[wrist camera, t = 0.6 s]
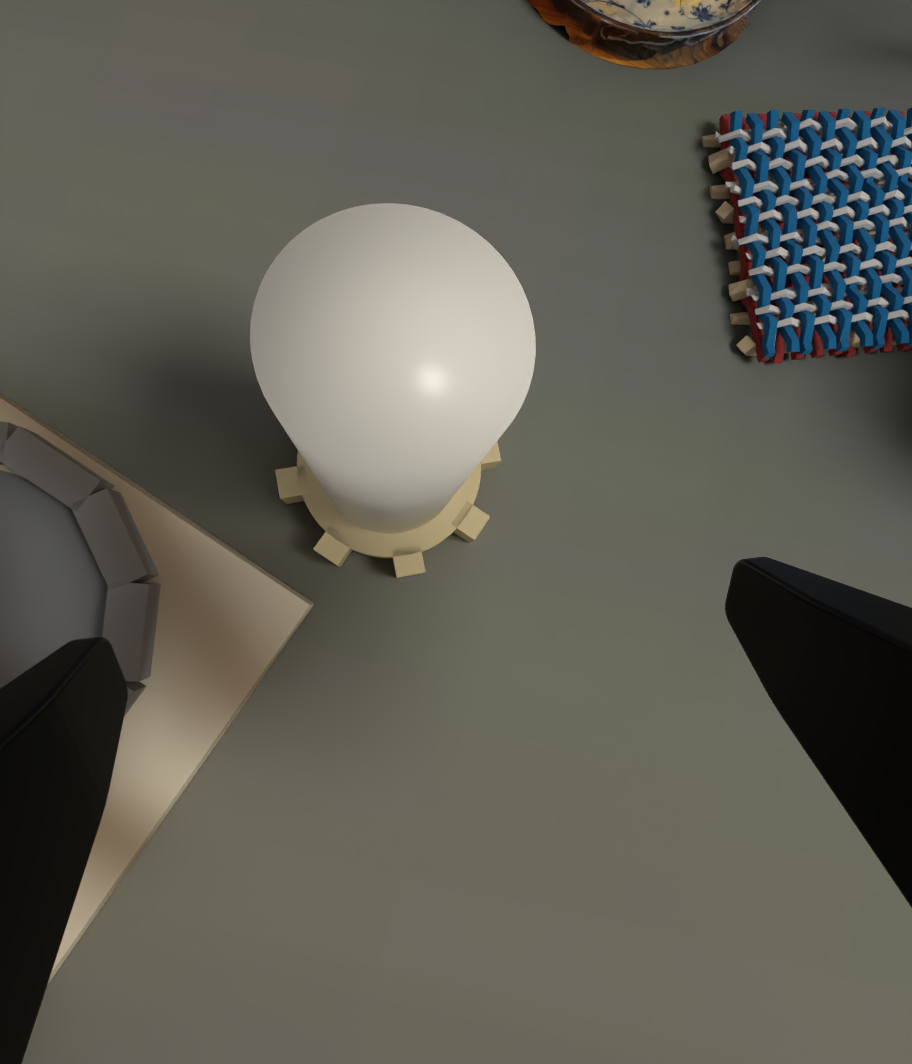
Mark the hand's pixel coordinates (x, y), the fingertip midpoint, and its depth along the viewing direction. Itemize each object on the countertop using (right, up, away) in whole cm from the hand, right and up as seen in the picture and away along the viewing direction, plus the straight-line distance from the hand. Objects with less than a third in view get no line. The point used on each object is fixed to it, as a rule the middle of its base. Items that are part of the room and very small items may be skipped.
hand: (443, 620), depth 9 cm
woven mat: (+16, +14, +18) cm, 27 cm away
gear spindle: (-2, +3, +14) cm, 14 cm away
